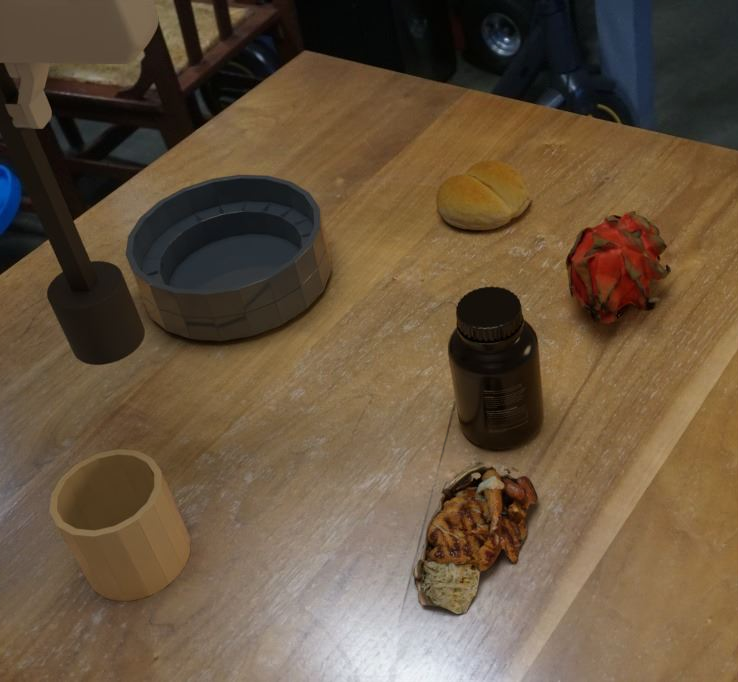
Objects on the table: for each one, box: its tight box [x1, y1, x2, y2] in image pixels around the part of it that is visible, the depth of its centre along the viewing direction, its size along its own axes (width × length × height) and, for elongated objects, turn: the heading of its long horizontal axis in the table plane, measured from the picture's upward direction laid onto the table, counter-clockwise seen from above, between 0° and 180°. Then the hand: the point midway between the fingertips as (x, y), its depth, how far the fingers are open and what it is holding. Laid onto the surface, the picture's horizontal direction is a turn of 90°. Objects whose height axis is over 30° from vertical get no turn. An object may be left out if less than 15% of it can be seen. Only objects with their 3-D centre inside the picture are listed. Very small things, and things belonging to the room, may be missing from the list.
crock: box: [48, 448, 191, 602], centre depth 77 cm, size 7×7×8 cm
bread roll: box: [435, 160, 532, 231], centre depth 107 cm, size 8×9×4 cm
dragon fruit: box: [565, 210, 672, 325], centre depth 95 cm, size 8×8×12 cm
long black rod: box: [0, 63, 146, 366], centre depth 67 cm, size 5×5×21 cm
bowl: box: [125, 174, 332, 342], centre depth 100 cm, size 17×17×6 cm
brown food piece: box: [412, 457, 539, 615], centre depth 78 cm, size 7×12×4 cm, turn 163°
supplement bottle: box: [447, 286, 544, 450], centre depth 83 cm, size 7×7×12 cm
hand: (13, 123), depth 63 cm, fingers closed on long black rod
